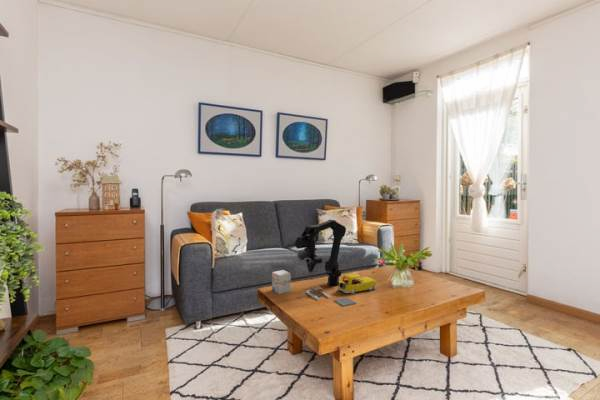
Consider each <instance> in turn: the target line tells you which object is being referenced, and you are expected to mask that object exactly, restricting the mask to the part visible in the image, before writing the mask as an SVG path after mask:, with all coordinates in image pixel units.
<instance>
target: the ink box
mask: <svg viewBox="0 0 600 400" xmlns="http://www.w3.org/2000/svg"><path fill="white" fill-rule="evenodd" d="M291 274H292V273H291V272H288V271H286V270H285V269H282V270H276V271H272V273H271V284H272V285H271V291H272V292H274V293H277V294H279V295H282V294H285V293H289V292H291V285H292V284H291V278H292V276H291Z"/></svg>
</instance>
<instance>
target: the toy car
mask: <svg viewBox="0 0 600 400" xmlns="http://www.w3.org/2000/svg"><path fill="white" fill-rule="evenodd" d="M377 283H378V282H377V281H376V280H374V279H373V278H371V277H368V276H361V275H359V274H357V273H350V274H345V275H343V277H342V279H341V280H340V279H339V283H338V284H339V285H338V286H337V290H339V291H341V292H343V293H344V294H352V295H353V294H356V293H357V292H361V291H367V290H368V291H373V289H376V288H377Z"/></svg>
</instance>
